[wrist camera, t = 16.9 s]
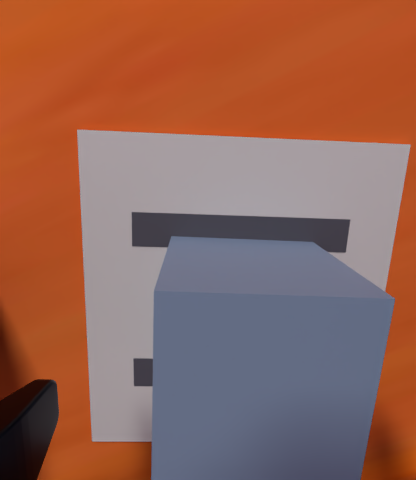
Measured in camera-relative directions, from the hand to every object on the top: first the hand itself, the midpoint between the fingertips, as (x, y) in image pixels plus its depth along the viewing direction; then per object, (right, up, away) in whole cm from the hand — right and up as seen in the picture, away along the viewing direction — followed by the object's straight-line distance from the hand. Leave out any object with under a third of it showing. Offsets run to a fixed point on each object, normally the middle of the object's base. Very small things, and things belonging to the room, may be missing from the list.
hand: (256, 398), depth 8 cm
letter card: (0, +1, +5) cm, 5 cm away
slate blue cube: (0, +1, +5) cm, 5 cm away
